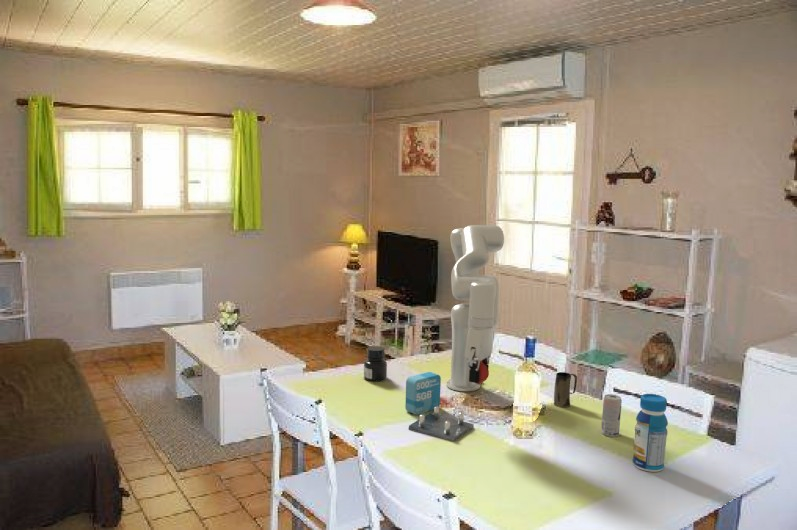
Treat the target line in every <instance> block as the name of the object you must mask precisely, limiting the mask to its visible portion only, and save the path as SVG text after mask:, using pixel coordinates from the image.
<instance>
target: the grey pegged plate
mask: <svg viewBox="0 0 797 530" xmlns="http://www.w3.org/2000/svg"><path fill="white" fill-rule="evenodd" d="M439 408H440V406H439V407H438V406H434V410H433V413H430V412H429V413H428V414H426V415H425V414H424V413H421V414H419V419H417V420H416V421H414V422H413V423H411V424H409V425H408V430H410V431H414V432H418V433H421V434H425V435H429V436H432V437H436V438H439V439H444V440H448V441H451V442H455V441H457V440H458V439H460V438H461V437H463V436H464V435H465V434H467V433H468V432H470V431H471V430H472V429H473V428H474V426H475V425H474V424H475V423H474V424H473V423H471V422H465V421H464V420H465V418H464V415H465V414H464V412H462V411H460V412H458V418H457V419H455V418H450V417H446V416H444V415H443V416H442V415H439V412H440V409H439Z"/></svg>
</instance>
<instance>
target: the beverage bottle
mask: <svg viewBox="0 0 797 530" xmlns="http://www.w3.org/2000/svg"><path fill="white" fill-rule="evenodd" d="M667 400H668V399H667V398H666V397H665V396H663V395H660V394H656V393H643V394H642V395H641V396H640V399H639V401H640V402H639V404H640V405H639V406H640V411H639V412H638V413H637V415H636V417H635V421H636V424H635V425H634V441H633V443H634V445H633V457H632V463H633V466H634V467H635V468H637V469H638V470H642V471H645V472H649V473H650V472H651V473H658V472H661V471H663V470H664V468H665V460H666V459H665V458H666V456H665V455H666V447H667V437H668V434H669V433H668V428H667V426H668V424H669V422H668V418H667V416H666V414H665V412H666V410H667V406H668V405H667V404H668V402H667Z"/></svg>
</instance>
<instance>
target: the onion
mask: <svg viewBox="0 0 797 530" xmlns="http://www.w3.org/2000/svg"><path fill="white" fill-rule="evenodd" d="M475 364H477V362H476V363H475ZM479 370H480V378H479V383H477V384H479V385H480V386H481V384H483V383H484V382H485V381H486V380H487V379H488V377H489V374H490V373H489V372H490V371H489V368H487V366H486V365H485V364H484V363H482V360H481V361H480V365H479Z"/></svg>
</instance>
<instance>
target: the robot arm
mask: <svg viewBox="0 0 797 530" xmlns="http://www.w3.org/2000/svg"><path fill="white" fill-rule="evenodd" d="M449 240H450V246H451V250H452V253H453V256H454V260H455V264H454V265H453V267H452V269H451V274H450V277H451V278H450V282H451V294H452V296H453V297H454V299H456V300H457V301H467V302H468V301H469V303H459V304H456V305H453V306H452V308H451V311H450V321H451V335H452V336H451V340H452V341H451V360H450V361H451V363H450V364H451V365H450V367H451V369H450V379H449V380H447V381H446V387H447V388H449V389H450V390H453V391H457V392H475V391H477V390H479V389H480V388H481V384H480V385H479V384H477V383H479V378H480V370H479V365H480V361H481V360H482V363H484V364H485V365H486V366H487V368H488V369H489V365H490V357H491V355H492V351H493V330H495V329H497V328H498V325H499V314H500V313H499V309H500V308H499V307H500V305H499V304H500V300H499V299H500V286H499V281H498V278H497V277H496V276H495V275H491V274H480V270H481V269H483V268H485V267H486V266H487V265H488V263H489V259H490V255H489V253H497V252H500V251H501V250H502V249H503V247H504V244H505V234H504V231H503V229H502V228H501V227H500V226H498V225H494V224H493V225H489V224H488V225H487V224H485V225H484V224H470V225H467V226H465V227H461V228H460V227H459V228H455V229H453V230H452V231H451V232H450V239H449ZM476 362H477V364H475V363H476Z"/></svg>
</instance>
